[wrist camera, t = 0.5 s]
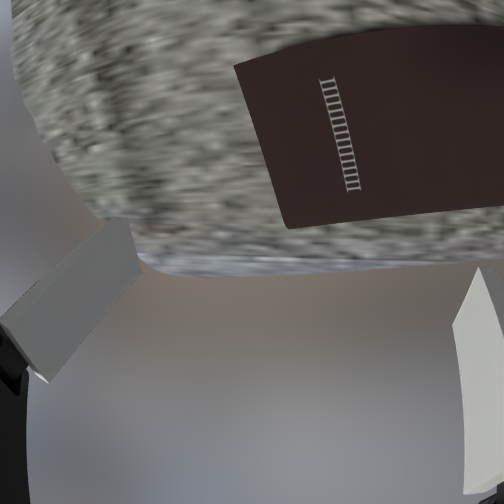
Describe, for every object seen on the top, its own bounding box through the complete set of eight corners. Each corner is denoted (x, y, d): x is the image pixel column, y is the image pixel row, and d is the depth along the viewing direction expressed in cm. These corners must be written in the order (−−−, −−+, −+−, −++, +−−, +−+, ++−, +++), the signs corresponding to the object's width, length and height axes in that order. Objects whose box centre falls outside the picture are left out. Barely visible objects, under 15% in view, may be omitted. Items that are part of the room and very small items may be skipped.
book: (297, 213, 40) (287, 236, 36) (252, 65, 31) (233, 65, 27) (505, 190, 28) (524, 210, 24) (485, 31, 20) (506, 26, 15)
